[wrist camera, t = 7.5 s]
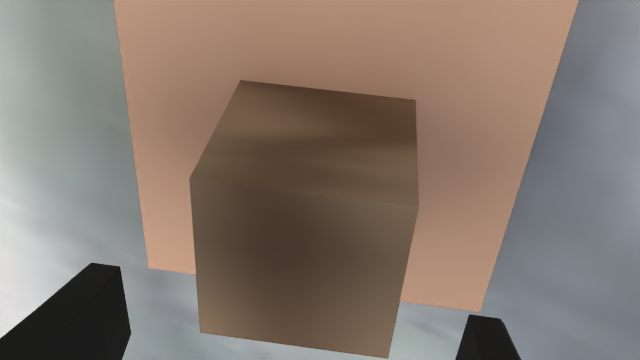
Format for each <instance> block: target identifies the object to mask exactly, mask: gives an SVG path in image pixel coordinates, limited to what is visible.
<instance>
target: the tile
mask: <svg viewBox="0 0 640 360" xmlns="http://www.w3.org/2000/svg"><path fill="white" fill-rule="evenodd" d="M578 2H579V0H114V8H115V16H116V23H117V31H118V38H119V46H120V54H121V61H122V69H123V77H124V84H125V92H126V99H127V107H128V115H129V122H130V130H131V138H132V145H133V153H134V160H135V168H136V176H137V183H138V191H139V199H140V206H141V214H142V221H143V229H144V237H145V244H146V252H147V260H148V267H149V268H152V269H159V270H167V271H174V272H182V273H190V274H196V268H195V253H194V239H193V225H192V211H191V196H190V182H189V178H190V176H191V174H192V172H193V170H194V169H195V167H196V165H197V163H198V161H199V159H200V157H201V155H202V153H203V151H204V149H205V147H206V145H207V143H208V142H209V140H210V138H211V136H212V134H213V132H214V130H215V128H216V126H217V124H218V122H219V120H220V118H221V117H222V115H223V113H224V111H225V109H226V107H227V105H228V103H229V101H230V99H231V97H232V95H233V93H234V92H235V90H236V88H237V86H238V84H239V82H240V80H245V81H254V82H263V83H271V84H280V85H289V86H298V87H307V88H315V89H324V90H333V91H342V92H351V93H359V94H368V95H377V96H386V97H395V98H403V99H412V100H416V128H417V160H418V192H419V209H418V214H417V219H416V224H415V229H414V234H413V239H412V244H411V248H410V253H409V258H408V263H407V268H406V273H405V278H404V283H403V288H402V292H401V297H400V301H401V302H408V303H416V304H423V305H431V306H438V307H446V308H453V309H461V310H468V311H476V312H480V310H481V307H482V303H483V300H484V297H485V294H486V291H487V288H488V285H489V281H490V278H491V275H492V272H493V269H494V266H495V263H496V259H497V256H498V253H499V250H500V247H501V244H502V241H503V237H504V234H505V231H506V228H507V225H508V222H509V219H510V215H511V212H512V209H513V206H514V203H515V200H516V197H517V193H518V190H519V187H520V184H521V181H522V178H523V175H524V171H525V168H526V165H527V162H528V159H529V156H530V153H531V149H532V146H533V143H534V140H535V137H536V134H537V131H538V127H539V124H540V121H541V118H542V115H543V112H544V108H545V105H546V102H547V99H548V96H549V93H550V90H551V86H552V83H553V80H554V77H555V74H556V71H557V68H558V64H559V61H560V58H561V55H562V52H563V49H564V46H565V42H566V39H567V36H568V33H569V30H570V27H571V24H572V20H573V17H574V14H575V11H576V8H577V5H578Z"/></svg>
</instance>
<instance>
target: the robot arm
mask: <svg viewBox="0 0 640 360" xmlns="http://www.w3.org/2000/svg"><path fill="white" fill-rule="evenodd" d="M130 335H131V330H130V324H129V318H128V312H127V306H126V300H125V294H124V288H123V282H122V276H121V270H120V267H119V266H111V265H104V264H97V263H91V264H89V265H88V266H87V267H86V268H84V269H83V270H82V271H81V272H80V273H78V274H77V275H76V276H75V277H74V278H72V279H71V280H70V281H69V282H68V283H67V284H65V285H64V286H63V287H62V288H61V289H60V290H58V291H57V292H56V293H55V294H54V295H53V296H51V297H50V298H49V299H48V300H47V301H45V302H44V303H43V304H42V305H41V306H40V307H38V308H37V309H36V310H35V311H34V312H32V313H31V314H30V315H29V316H27V317H26V318H25V319H24V320H22V321H21V322H20V323H19V324H18V325H16V326H15V327H14V328H13V329H11V330H10V331H9V332H8V333H6V334H5V335H4V336H3V337H1V338H0V360H122V358H123V355H124V352H125V349H126V346H127V344H128V341H129V338H130ZM456 360H521V359H520V357H519V355H518V352H517V350H516V348H515V346H514V344H513V342H512V340H511V338H510V336H509V333H508V331H507V329H506V327H505V325H504V323H503V322H502V321H501V319H498V318H491V317H484V316H476V315H469V317H468V320H467V324H466V327H465V330H464V333H463V337H462V340H461V343H460V347H459V350H458V353H457V356H456Z"/></svg>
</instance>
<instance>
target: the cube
mask: <svg viewBox="0 0 640 360" xmlns="http://www.w3.org/2000/svg"><path fill="white" fill-rule="evenodd" d="M189 182H190V196H191V211H192V225H193V239H194V253H195V268H196V282H197V296H198V310H199V325H200V333H207V334H214V335H221V336H228V337H235V338H243V339H250V340H257V341H264V342H272V343H279V344H286V345H293V346H301V347H308V348H315V349H322V350H330V351H337V352H344V353H351V354H358V355H366V356H373V357H380V358H387V359H388V356H389V351H390V346H391V341H392V336H393V332H394V327H395V322H396V317H397V312H398V307H399V302H400V297H401V292H402V288H403V283H404V278H405V273H406V268H407V263H408V258H409V253H410V248H411V244H412V239H413V234H414V229H415V224H416V219H417V214H418V209H419V192H418V160H417V128H416V100H412V99H403V98H395V97H386V96H377V95H368V94H359V93H351V92H342V91H333V90H324V89H315V88H307V87H298V86H289V85H280V84H271V83H263V82H254V81H245V80H240V82H239V84H238V86H237V88H236V90H235V92H234V93H233V95H232V97H231V99H230V101H229V103H228V105H227V107H226V109H225V111H224V113H223V115H222V117H221V118H220V120H219V122H218V124H217V126H216V128H215V130H214V132H213V134H212V136H211V138H210V140H209V142H208V143H207V145H206V147H205V149H204V151H203V153H202V155H201V157H200V159H199V161H198V163H197V165H196V167H195V169H194V170H193V172H192V174H191V176H190V178H189Z"/></svg>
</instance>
